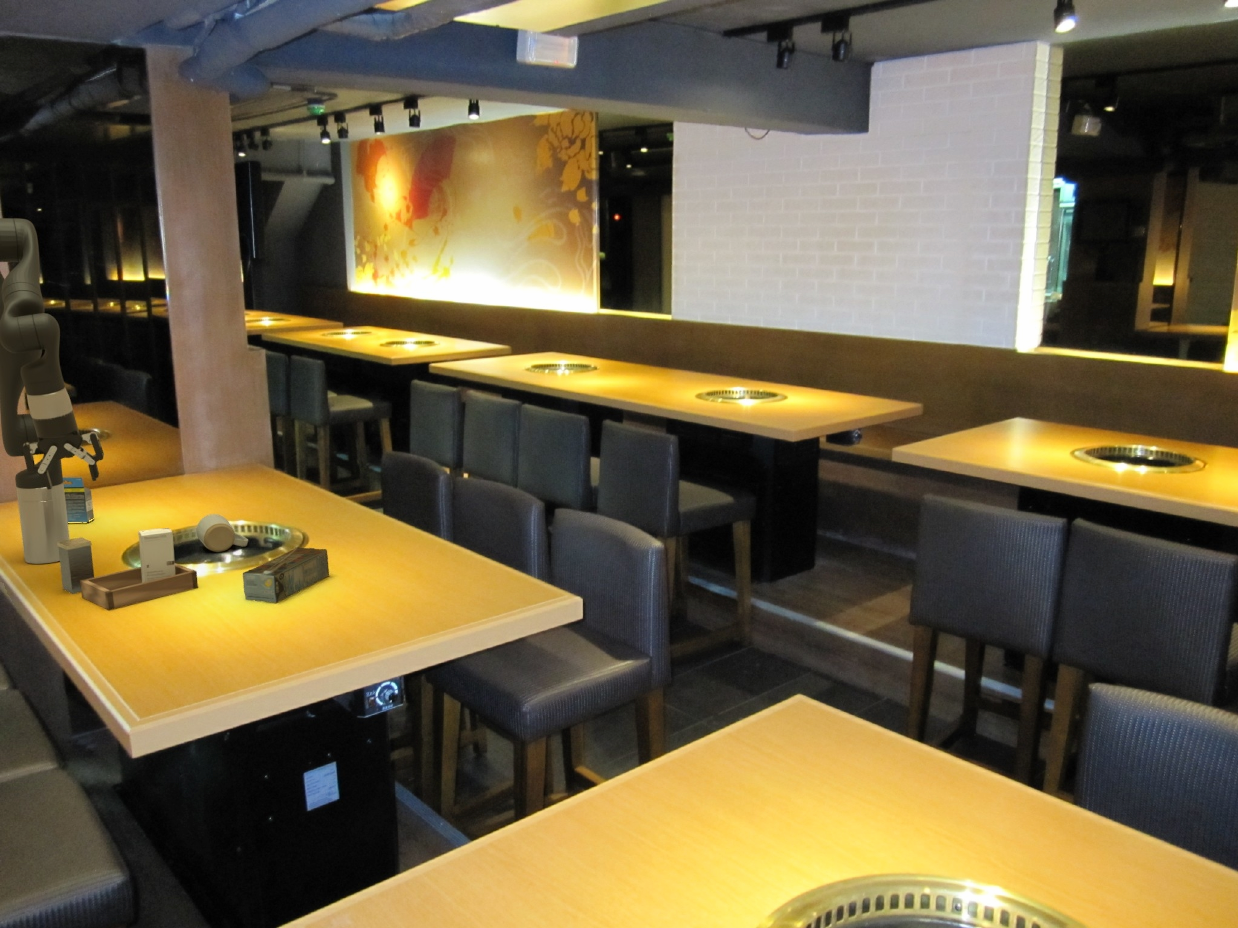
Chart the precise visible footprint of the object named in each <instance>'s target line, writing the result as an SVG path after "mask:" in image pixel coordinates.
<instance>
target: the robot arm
mask: <svg viewBox="0 0 1238 928" xmlns="http://www.w3.org/2000/svg"><path fill="white" fill-rule="evenodd" d="M0 263H18V264H16V266H14V268H12V269H11V271H10V272H9V273H8V274H7V275H6V276H5V277H4V276H3V274H2V272H1V270H0V426H1V427H0V429H1V439H2V443H3V448H4V451H5V453H6V454H7V455H8V456H10V457H14V458H16V457H24V461H25V466H26V468H25V469H24V470H21V471H18V472H17V473H16V474H15V476H14V480H15V487H16V488H15V489H16V496H17V505H18V512H19V513H18V514H19V520H20V529H21V531H20V532H21V539H22V547H23V548H22V549H23V557H24V562H25V563H27V564H34V565H35V564H36V565H38V564H50V563H57V562H60V557H59V548H58V546H57V542H60V541H65V540H70V529H69V524H68V520H67V511H66V501H65V493H64V484H65V483H64V482H63V478H64V477H63V467H62V466H63V465H62V459H65V458H66V459H70V458H74V456H76V457H78V458H79V459H80V460H83V461H84V462H85V463H87V464H88V466H87V467H88V469H89V474H90V477H91V481H92V482H96V481H97V480H98V478H99V476H100V472H99V468H98V465H97V464H98V462H99V461H102V460H104V455H105V453H104V450H103V448H102V444H101V441H100V438H99V435H98V432H97V431H96V430H91V431H90V432H87V433H84V434H82V433H81V432H80V431H79V429H78V425H77V424H78V423H77V420H76V416H75V412H74V408H73V406H72V401H71V399H70V395H69V394H68V393H69V392H68V391H67V388H66V385H65V381H64V377H63V375H62V374H63V373H62V370H61V365H60V338H61V337H60V336H61V332H60V331H61V329H60V325H59V323H58V321H57V320H56V318H55V317H54V316H52V315H51V314H49V313H45V304H44V299H43V295H42V292H41V291H42V290H41V284H40V269H41V267H40V250H39V240H38V235H37V231H36V228H35V226H34V224H33V223H32V221H30V220H28V219H25V218H12V217H11V218H9V217H8V218H6V217H5V218H1V217H0ZM43 350H44V354H43V355H42V353H43ZM24 389H25V393H26V397H27V398H26V399H27V404H28V409H29V413H22V414H20V413H19V414H18V407H19V402H20V398H21V396H22V395H21V394H22V393H23V391H24ZM84 441H86V442H87V443H88V444H91V445H92V447H93V450H94V453H95V454H92V453H90V452H89V451H88V450H87V449H85V447H83V446H82V444H83V442H84ZM36 455H37V456H39V455H43V456H42V458H41V459H40V460H39V461H37V463H35V460H34V459H35V458H34V456H36Z"/></svg>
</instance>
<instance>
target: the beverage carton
mask: <svg viewBox="0 0 1238 928" xmlns="http://www.w3.org/2000/svg"><path fill="white" fill-rule="evenodd" d="M328 556H329V555H328V549H326V548H322V549H321V548H320V549H319V548H314V547H313V548H312V547H299V546H298V547H297V548H294V549H292V550H289V551H288V552H286V553H284V554H281V555H279V556H278V557H275V558H273V559H271V560H269V561H267V562H264V563H262V564H260V565H257V566H256V567H254V568H251V569H249V570H247V571H245V572H244V571H243V572H242V580H243V581H242V582H243V593H244V598H245V599H244V600H246V601H253V600H255V601H256V602H261V601H265V602H264V603H271V604H277V603H280V602H281V601H283V600H285V599H288V598H289V597H291V596H293V595H295V594H298V593H299V592H300V590H301V591H302V590H305V589H306V588H308V587H310V586H311V585H314V584H315V583H317V582H319V581H321V580H323V579H325V578H327V577H329V576H330V569H329V557H328ZM298 591H299V592H298Z"/></svg>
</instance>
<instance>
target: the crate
mask: <svg viewBox="0 0 1238 928" xmlns="http://www.w3.org/2000/svg"><path fill="white" fill-rule="evenodd" d="M197 572H198V571H197V570H194V569H191V568H188V567H187V566H183V565H180V564H179V563H175V575H173V576H169V577H165V578H160V579H156V580H152V581H148V582H144V583H142V573H141V566H138V567H135V568H134V567H133V568H129V569H126V570H122V571H121V570H120V571H117V572H112V573H108V574H107V573H106V574H103V575H98V576H94V578H89V579H85V580H81V581H80V585H81V592H80V593H81V598H83V599H84V600H87V601H89V602H90V603H93V604H95V605H97V606H100V607H102V608H104V609H106V610H108V611H111V610H116V609H119V608H123V607H126V606H131V605H135V604H139V603H143V602H147V601H151V600H154V598H155V599H159V598H164V597H166V596H165V595H167V596H171V595H174V594H179V593H182V592H183V593H184V592H186V591H190V590H194V589H198V587H199V584H198V574H197ZM142 601H143V602H142Z"/></svg>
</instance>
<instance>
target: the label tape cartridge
mask: <svg viewBox="0 0 1238 928" xmlns="http://www.w3.org/2000/svg"><path fill="white" fill-rule="evenodd" d="M65 481H66V482H67V483H65ZM63 484H64V493H65V501H66V511H67V520H68V522H89V520H91V519H93V518H94V519H95V517H94V516H95V515H94V514H95V513H94V505H93V497H92V496H93V495H92V490H91V488H88V487H86V486H84V480H83V477H82V476H81V477H76V476H75V477H63Z"/></svg>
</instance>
